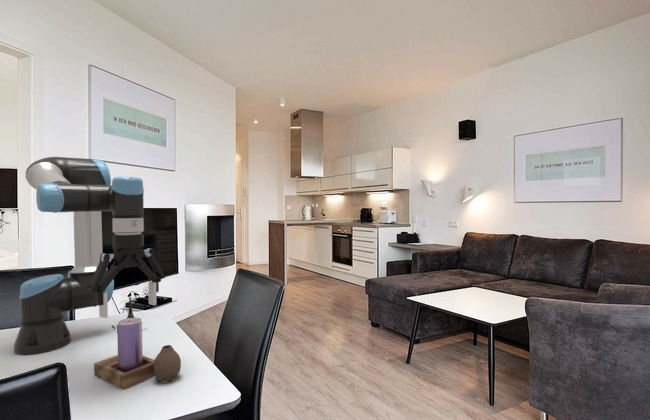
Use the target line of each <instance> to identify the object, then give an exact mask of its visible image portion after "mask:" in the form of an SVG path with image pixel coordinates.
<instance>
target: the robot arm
mask: <svg viewBox="0 0 650 420" xmlns="http://www.w3.org/2000/svg"><path fill="white" fill-rule="evenodd" d="M25 179H26V181H27V183H28V184H29V185H30V186H31V188H33V189H35V190H36V195H35V197H36V205H37V207H36V208H37V209H38V211H40V212H42V213H53V214H55V213H57V214H58V213H73V240H74V241H73V242H74V267H73V268H72V269H71V270H70V271H69V276H68V277H65V276H64V275H63V274H62V273H61V274H60V273H55V274H48V275H42V276H38V277H33V278H31V279H29V280H26V281H24V282H23V283H22V284H21V285H20V287H19V288H20V290H19V291H20V292H19V299H20V304H19V305H20V327H19V331H18V333H17V336H16V339H15V341H14V344H13V349H14V350H13V351H14V353H15V354H17V355H24V356H25V355H35V354H36V355H37V354H42V353H47V352H51V351H54V350H58V349H60V348H63V347H65V346H67V345H69V344H70V343H71V342H72V341H71V340H72V339H71V332H70V330H69V328H68V325H67V323H66V321H65V312H68V311H69V312H70V311H74V310H81V309H86V308H91V307H95V308H96V307H97V306H98V312H99V315H98V317H100V318H101V319H102V318H103V319H107V318H108V317H109V315H108V311H109V310H108V305H109V304H108V303H109V302H110V300H111V299H112V297H113V293H114V288H115V280H114V279H115V277H116V276H117V275H118V273H119V272H121V271H122V270H123V269H129V268H136V267H138V268H139V269H140V270H141V272H142V273H144V275H145V276H146V277H148V279H149V280H150V281H148V284H147V285H148V305H151V306H157V293H159V291H160V289H159V288H160V287H159V286H160V285H159V283H160V282H161V281H162V279H165V278H166V274H165V273H164V270H163V268H162V267H161V264H160V262H159V261H158V259H157V257H156V254H155V253H156V252H155V249H154V248H146V249H144V246H145V235H144V234H143V233H142V232H144V230H145V229H144V228H145V225H144V224H145V223H144V191H145V189H144V182H143V179H142V178H140V177H135V176H116V177H113V178H111V174H110V168H109V167H108V165H107V164H106V162H104V160H100V159H93V158H81V157H80V158H79V157H65V156H63V157H62V156H47V157H43V158H41V159H38V160H35V161H33V162H32V163H30V164H29V166H28V167H27V168H26V170H25ZM102 212H112V233H113V236H112V249H113V251H112V253H103V231H102V230H103V229H102V228H103V226H102V222H103V221H102V219H103V218H102ZM144 256H145V257H146V260H147V261H148V263H149V265H150V266H148V265H147V262H146V261H144V260H143V258H144ZM112 260H113V263H112V264H111V265H110V262H112ZM109 265H110V268H109V270H108V267H109ZM150 267H151V268H152V269H151V268H150Z"/></svg>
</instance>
